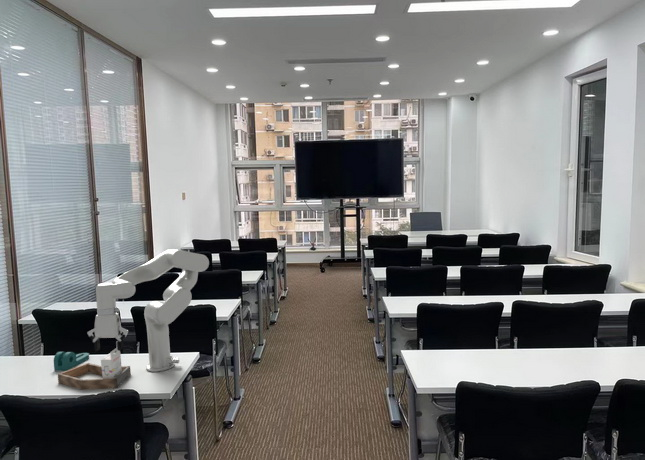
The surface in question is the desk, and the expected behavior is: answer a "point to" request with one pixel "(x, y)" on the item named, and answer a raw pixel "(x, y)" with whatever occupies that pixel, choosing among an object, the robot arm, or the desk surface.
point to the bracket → (68, 360)
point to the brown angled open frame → (70, 379)
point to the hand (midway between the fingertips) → (108, 349)
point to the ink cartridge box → (111, 365)
